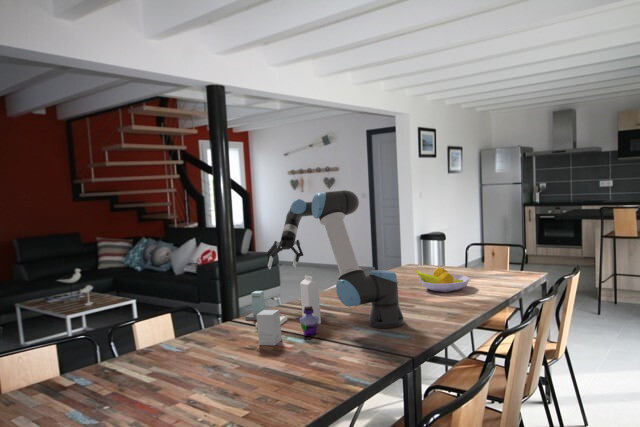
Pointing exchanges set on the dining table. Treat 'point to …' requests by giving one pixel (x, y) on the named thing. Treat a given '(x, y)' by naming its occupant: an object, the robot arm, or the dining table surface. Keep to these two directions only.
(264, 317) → the supplement box
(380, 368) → the dining table surface
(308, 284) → the milk
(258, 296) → the light blue tall block
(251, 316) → the coaster
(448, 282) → the fruit bowl
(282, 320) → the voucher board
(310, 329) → the potion bottle
